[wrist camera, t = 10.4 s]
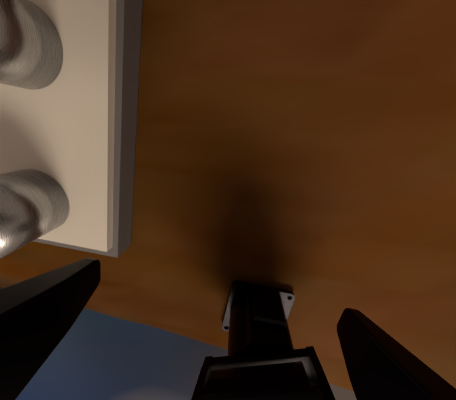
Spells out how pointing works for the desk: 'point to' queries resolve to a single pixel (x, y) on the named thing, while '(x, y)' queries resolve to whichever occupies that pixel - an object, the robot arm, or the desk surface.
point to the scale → (83, 122)
